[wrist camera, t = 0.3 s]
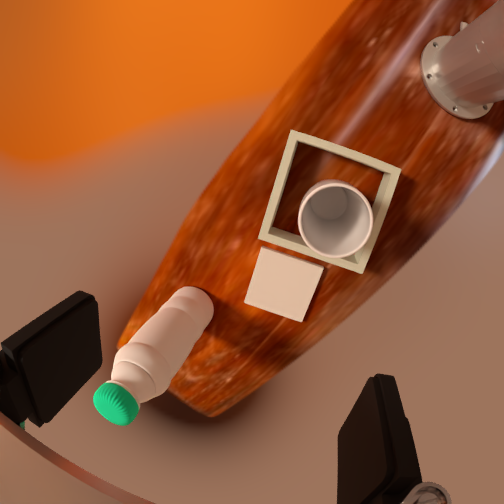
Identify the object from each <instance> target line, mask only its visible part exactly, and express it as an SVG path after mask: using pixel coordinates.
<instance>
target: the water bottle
mask: <svg viewBox="0 0 504 504" xmlns="http://www.w3.org/2000/svg"><path fill="white" fill-rule="evenodd" d="M213 313H214V307H213V303H212V301H211V299H210V298H209V296H208V295H207V294H206V293H205V292H204V291H202V290H201V289H198V288H196V287H190V286H188V287H183V288H181V289H179V290H177V291H176V292H175V293H174V294H173V295H172V297H171V298H170V299H169V300H168V301H167V302H166V303H165V304H164V305H163V306H162V307H161V308H160V309H159V311H158V312H157V313H156V314H155V315H154V316H152V317H151V318H150V319H149V320H148V321H147V322H146V323H145V324H144V325H143V326H142V327H141V328H140V329H139V330H138V331H137V332H136V333H135V335H134V336H133V337H132V338H131V339H130V341H129V342H128V343H127V344H126V345H124V346H123V347H122V348H121V349H120V350H119V351H118V352H117V354H116V356H115V359H114V365H113V370H112V374H111V381H107V382H105V383H104V384H102V385H101V386H100V387H99V388H98V389H97V391H96V392H95V394H94V397H93V401H94V405H95V407H96V409H97V410H98V412H100V414H101V415H102V416H103V417H105V418H106V419H107V420H108V421H110V422H112V423H114V424H117V425H122V426H124V425H128V424H130V423H131V422H132V421H133V420H134V419H135V417H136V416H137V414H138V411H139V409H140V403H142V402H146V401H148V400H150V399H151V398H154V397H156V396H159V395H161V394H162V393H163V392H165V391H166V389H167V388H168V387H169V385H170V382H171V379H172V378H173V377H174V375H175V374H176V373H177V371H178V370H179V369H180V367H181V366H182V364H183V363H184V361H185V360H186V358H187V356H188V355H189V353H190V351H191V350H192V348H193V346H194V344H195V342H196V341H197V340H198V339H199V338H200V336H201V335H202V333H203V331H204V329H205V328H206V326H207V325H208V324H209V322H210V321H211V319H212V317H213Z"/></svg>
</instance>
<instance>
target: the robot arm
mask: <svg viewBox="0 0 504 504" xmlns="http://www.w3.org/2000/svg"><path fill="white" fill-rule="evenodd" d="M433 45H434V46H435V47H434V46H433ZM420 69H421V74H422V78H423V81H424V84H425V86H426V88H427V90H428V92H429V93H430V95H431V96H432V98H433V99H434V100H435V101H436V102H437V103H438V105H439V106H441V107H442V108H443V109H444V110H445V111H447V112H448V113H450V114H452V115H454V116H456V117H459V118H463V119H475V118H479V117H481V116H483V115H485V114H486V113H488V112H489V110H490V109H491V107H492V106H493V103H494V102H497V101H502V100H504V0H499V1H497V2H496V3H495V4H494V5H493V6H492V7H490V8H489V9H488V10H487V11H485V12H484V13H483V14H482V15H480V16H479V17H478V18H477V19H475V20H474V21H473V22H472V23H470V24H469V25H468V24H467V23H465V22H461V25H460V32H458V33H457V34H456V35H455V36H441V37H437V38H435V39H433V40H432V41H431V42H429V43H428V44H427V46H426V47H425V48H424V50H423V52H422V55H421V60H420ZM427 76H428V77H429V79H428V78H427ZM453 108H454V111H453ZM1 346H2V350H1V351H0V504H155V503H152V502H150V501H148V500H145V499H143V498H140V497H138V496H136V495H133V494H131V493H129V492H127V491H124V490H123V489H120V488H118V487H116V486H114V485H112V484H110V483H108V482H106V481H104V480H102V479H100V478H98V477H97V476H95V475H93V474H91V473H89V472H87V471H86V470H84V469H82V468H80V467H79V466H77V465H75V464H74V463H72V462H70V461H69V460H67V459H65V458H64V457H62V456H60V455H59V454H58V453H56V452H54V451H53V450H51V449H50V448H48V447H47V446H45V445H44V444H43V443H41V442H40V441H38V440H37V439H35V438H34V437H32V436H31V435H30V434H29V433H27V432H26V431H25V422H24V421H25V420H26V419H27V418H28V419H29V420H30V421H31V422H32V423H34V424H35V425H37V426H38V427H41V426H42V425H43V424H44V423H48V422H50V421H51V420H52V419H53V417H54V416H55V415H56V414H57V413H58V412H59V411H60V410H61V409H62V408H63V407H64V405H65V404H66V403H67V402H68V401H69V400H70V399H71V398H72V397H73V396H74V395H75V394H76V393H77V391H79V389H80V388H81V387H82V386H83V385H84V384H85V383H86V382H87V381H88V380H89V379H90V378H91V377H92V375H94V374H95V372H96V371H97V370H98V369H99V368H100V367H101V365H102V351H101V340H100V329H99V315H98V303H97V301H95V298H94V296H93V295H91V294H88V293H85V292H83V291H77V292H76V293H74V294H72V295H71V296H69V297H68V298H66V299H65V300H63V301H62V302H60V303H59V304H57V305H56V306H54V307H52V308H51V309H49V310H48V311H46V312H45V313H44V314H42V315H40V316H39V317H37V318H36V319H35V320H33V321H32V322H30V323H29V324H27V325H26V326H24V327H23V328H21V329H20V330H18V331H17V332H16V333H14V334H13V335H11V336H10V337H9V338H7V339H6V340H4V341H3V342H1ZM337 487H338V488H337V504H451V498H450V495H449V493H448V492H447V490H445V488H443V487H442V486H441V485H439V484H436V483H433V482H424V483H423V482H422V477H421V472H420V467H419V463H418V458H417V454H416V449H415V444H414V440H413V436H412V432H411V428H410V424H409V421H408V419H407V418H406V417H405V414H404V410H403V406H402V402H401V399H400V395H399V391H398V388H397V384H396V381H395V378H394V376H391V375H384V374H376V375H375V376H374V377H370V378H369V379H368V381H367V382H366V384H365V386H364V388H363V390H362V392H361V394H360V396H359V398H358V399H357V401H356V403H355V405H354V406H353V408H352V410H351V412H350V414H349V415H348V417H347V419H346V421H345V422H344V424H343V426H342V427H341V429H340V431H339V434H338V486H337Z"/></svg>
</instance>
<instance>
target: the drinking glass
mask: <svg viewBox="0 0 504 504" xmlns="http://www.w3.org/2000/svg"><path fill="white" fill-rule="evenodd" d="M298 226H299V231H300V234H301V236H302V238H303V240H304V242H305V243H306V244H307V246H308V247H309V248H310V249H312V250H313V251H314V252H316V253H318V254H319V255H322V256H324V257H328V258H343V257H347V256H350V255H352V254H354V253H356V252H357V251H359V250H360V249H361V248H362V247H363V246H364V245H365V244H366V242H367V241H368V239H369V237H370V235H371V233H372V229H373V212H372V209H371V206H370V204H369V202H368V200H367V199H366V197H365V196H364V195H363V194H362V193H361V192H360V191H359V190H358V189H357V188H356V187H354V186H353V185H351V184H350V183H348V182H345V181H342V180H337V179H327V180H322V181H319V182H318V183H316V184H315V185H313V186H312V187H311V188H310V189H309V190H308V191H307V192H306V194H305V195H304V197H303V199H302V201H301V203H300V207H299V212H298Z"/></svg>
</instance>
